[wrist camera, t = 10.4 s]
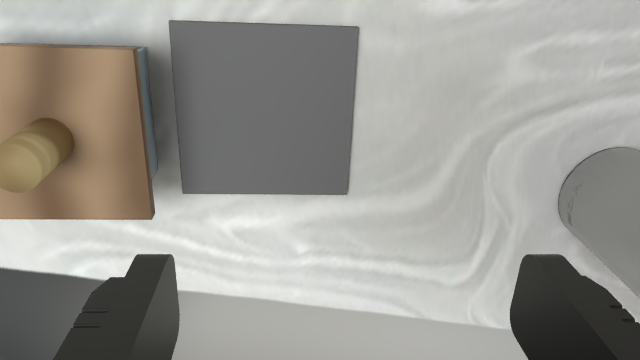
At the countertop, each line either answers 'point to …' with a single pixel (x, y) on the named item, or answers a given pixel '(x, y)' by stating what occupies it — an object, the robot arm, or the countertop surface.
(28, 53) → the lid
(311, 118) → the mat
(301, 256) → the countertop surface
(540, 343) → the robot arm
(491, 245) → the countertop surface
